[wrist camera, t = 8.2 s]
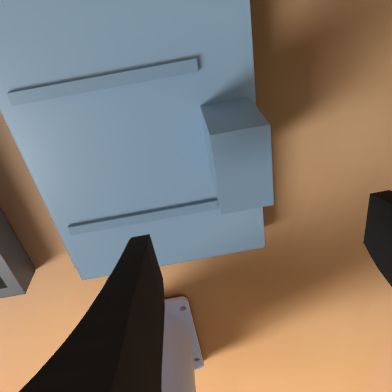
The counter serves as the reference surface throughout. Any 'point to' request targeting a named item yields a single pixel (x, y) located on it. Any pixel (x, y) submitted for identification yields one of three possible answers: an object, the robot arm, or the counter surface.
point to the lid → (139, 124)
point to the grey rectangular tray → (13, 262)
